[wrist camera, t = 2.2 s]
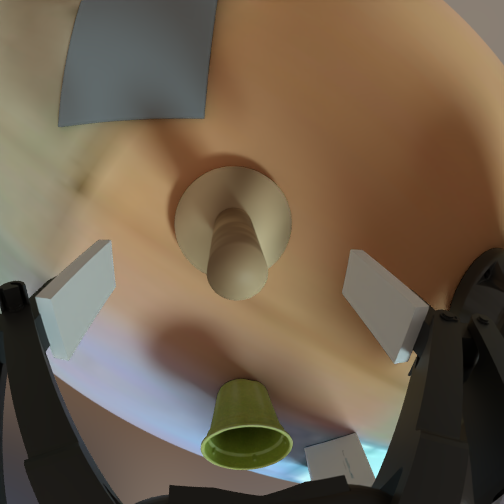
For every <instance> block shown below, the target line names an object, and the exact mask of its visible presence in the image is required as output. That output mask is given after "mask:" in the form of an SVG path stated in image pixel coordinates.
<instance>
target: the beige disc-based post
mask: <svg viewBox="0 0 504 504" xmlns="http://www.w3.org/2000/svg"><path fill="white" fill-rule="evenodd" d="M291 227H292V219H291V212H290V208H289V205H288V202H287V200H286V198H285V196H284V194H283V193H282V191H281V190H280V189H279V187H278V186H277V185H276V184H275V183H274V182H273V181H272V180H270V179H269V178H268V177H266V176H265V175H263V174H261V173H260V172H258V171H255V170H253V169H250V168H246V167H240V166H227V167H221V168H217V169H214V170H211V171H209V172H207V173H205V174H203V175H202V176H200V177H199V178H198V179H196V180H195V181H194V182H193V183H192V184H191V185H190V186H189V187H188V188H187V190H186V191H185V192H184V194H183V195H182V197H181V199H180V201H179V204H178V206H177V209H176V214H175V234H176V239H177V242H178V244H179V247H180V249H181V251H182V253H183V254H184V256H185V257H186V258H187V259H188V261H189V262H190V263H191V264H192V265H193V266H194V267H196V268H197V269H198V270H200V271H201V272H203V273H205V274H207V278H208V282H209V284H210V286H211V287H212V289H213V290H214V291H215V292H216V293H217V294H218V295H220V296H221V297H224V298H226V299H229V300H245V299H248V298H251V297H252V296H254V295H256V294H257V293H258V292H259V291H260V290H261V289H262V288H263V287H264V285H265V283H266V280H267V277H268V268H270V267H271V266H272V265H273V264H274V263H275V262H276V261H277V260H278V259H279V258H280V257H281V255H282V254H283V252H284V250H285V248H286V246H287V244H288V241H289V238H290V234H291Z"/></svg>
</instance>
